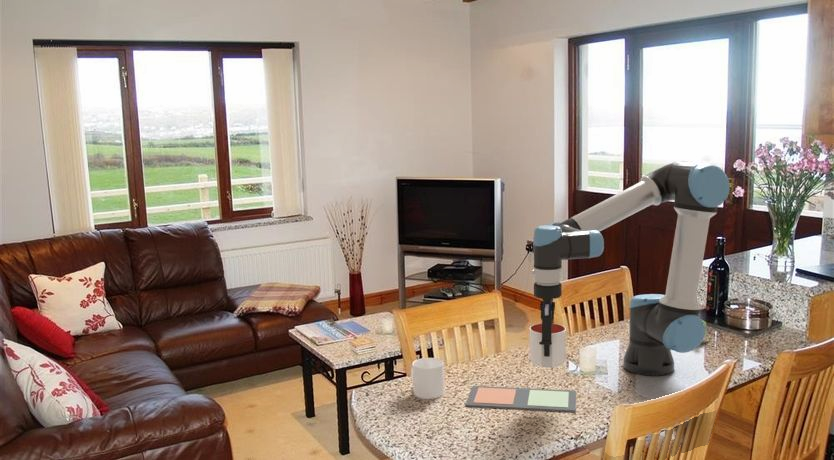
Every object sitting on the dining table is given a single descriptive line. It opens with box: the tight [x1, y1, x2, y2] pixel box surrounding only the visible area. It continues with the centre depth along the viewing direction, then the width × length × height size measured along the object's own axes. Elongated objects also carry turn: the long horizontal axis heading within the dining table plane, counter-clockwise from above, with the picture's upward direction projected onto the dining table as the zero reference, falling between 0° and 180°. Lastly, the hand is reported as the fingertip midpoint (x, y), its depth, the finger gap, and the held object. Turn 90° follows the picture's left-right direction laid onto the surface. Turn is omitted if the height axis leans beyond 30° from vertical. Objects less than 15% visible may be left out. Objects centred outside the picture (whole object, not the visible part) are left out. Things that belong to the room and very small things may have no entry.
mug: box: [410, 357, 445, 400], centre depth 214 cm, size 12×9×9 cm
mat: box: [465, 385, 577, 413], centre depth 207 cm, size 30×14×1 cm, turn 77°
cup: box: [528, 322, 567, 368], centre depth 203 cm, size 10×10×10 cm
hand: (547, 360), depth 203 cm, fingers closed on cup, 10 cm apart
